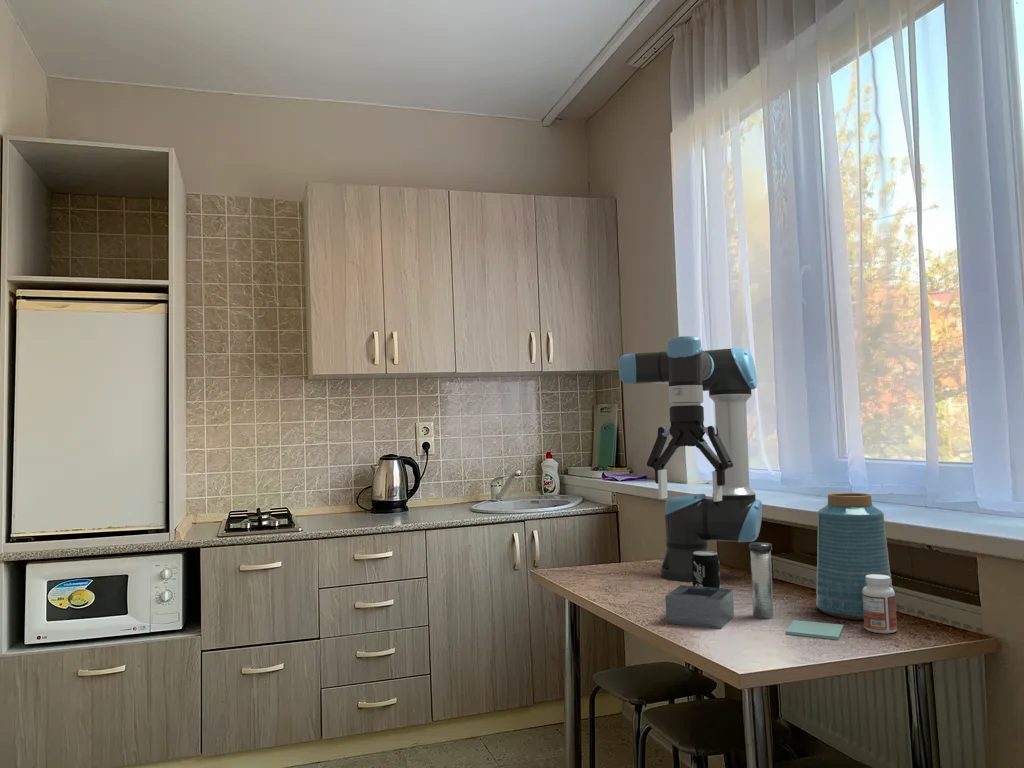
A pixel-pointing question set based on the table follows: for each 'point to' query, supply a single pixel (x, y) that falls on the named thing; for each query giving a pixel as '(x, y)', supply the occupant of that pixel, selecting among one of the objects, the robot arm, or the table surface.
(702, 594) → the block
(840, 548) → the vase
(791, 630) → the mat
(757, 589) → the glass tube
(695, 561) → the beverage can
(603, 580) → the table surface
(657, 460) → the robot arm
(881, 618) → the pill bottle
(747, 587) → the table surface
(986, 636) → the table surface
